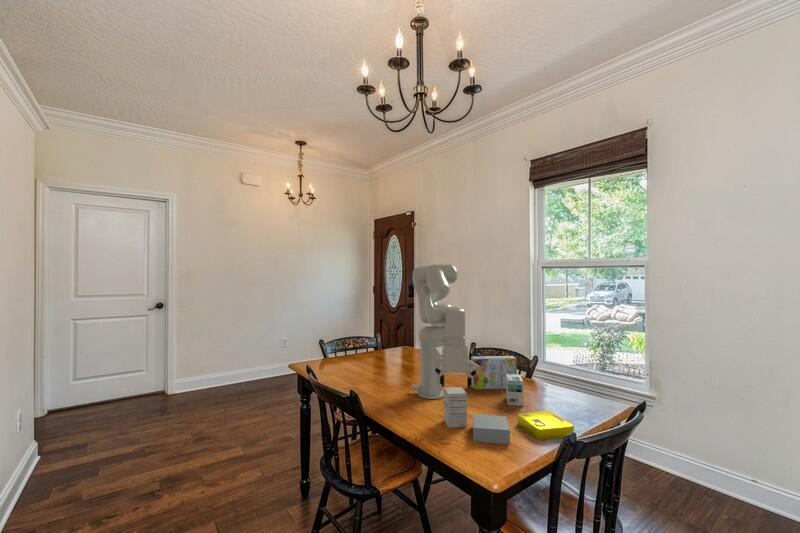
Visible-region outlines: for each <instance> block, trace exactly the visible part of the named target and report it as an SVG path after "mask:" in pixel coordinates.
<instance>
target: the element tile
mask: <svg viewBox="0 0 800 533" xmlns="http://www.w3.org/2000/svg"><path fill="white" fill-rule="evenodd" d="M516 418H517V421H516V422H517V427H519V428H520V429H522V430H523V431H524V432H525V433H527V435H529V436H530V437H531V438H532V439H534V440H536V441H542V442H543V441H552V440H561V439H563V440H564V439H565V438H564V437H565V436H566V435H567V434H570V433H574V434H575V432H574V428H575V426H574V424H573V423H571V422H569V421H568V420H566V419H565V418H563V417H561V416H560V415H559V414H557V413H555V412H554V411H551V410H544V411H543V410H542V411H532V412H531V411H530V412H520V413H517V416H516Z"/></svg>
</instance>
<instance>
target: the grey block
mask: <svg viewBox="0 0 800 533" xmlns="http://www.w3.org/2000/svg"><path fill="white" fill-rule="evenodd" d="M472 435H473V436H472V439H473V440H472V441H473V443H474V442H475V443H489V444H504V445H510V444H511V429H510V425H509V422H508V419H507V416H504V415H487V414H475V413H473V414H472Z"/></svg>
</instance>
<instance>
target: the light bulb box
mask: <svg viewBox="0 0 800 533" xmlns="http://www.w3.org/2000/svg"><path fill="white" fill-rule="evenodd" d="M524 381H525V380H524V379H523V377H522V374H517V375H515V374H506V389H505V390H506V400H507V401H506V402H507V405H508V406H515V407H516V406H517V407H518V406H519V407H524V402H525V401H524V396H525V395H524V389H525V388H524Z"/></svg>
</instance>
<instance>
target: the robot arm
mask: <svg viewBox="0 0 800 533" xmlns="http://www.w3.org/2000/svg"><path fill="white" fill-rule="evenodd" d="M457 280H458V270H457V268H456V267H455V266H454V265H453V264H448V263H447V264H445V263H444V264H441V263H440V264H438V263H437V264H436V263H435V264H430V265H428V266H427V265H425V266H424V265H423V266H418V267H416V268H414V269H413V270H412V283H413V286H414V290H415V292H416V295H417V300H418V310H419V318H420V321H421V322H422V323H423V324H424V325H425V324H426V326H424V327H421V328H420V330H419V332H418V340H419V347H420V383H419V384H414V383H413V384H412V383H411V389H412V390H413V391H417V396H418V397H419V398H421V399H426V400H427V399H428V400H438V399H441V398H444V389H442V388H445V373H450V374H451V373H452V374H466V376H467V389H468V390H470V389H471V388H470V387H472V377H473V376H474V375H475V374H476V372H477V370H478V368H479V365H477V364H475V363H473V362H472V361H471V359H470V358H469V357H470V355H469V348H468V345H467V344H466V311H465V310H464V309H463V308H460V306H456V305H455V306H451V304H449V303H439V301H441V300H443V299H445V298H447V297H448V296H449V294H450V292H451V289H450V285H449V284H455V283H456V282H457ZM429 325H430V326H429ZM440 347H441V348H442V351H441V353H440V352H439V351H438V349H437V348H440ZM471 366H473V367H474V370H473V371H472V372H471V370H470V367H471Z"/></svg>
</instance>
